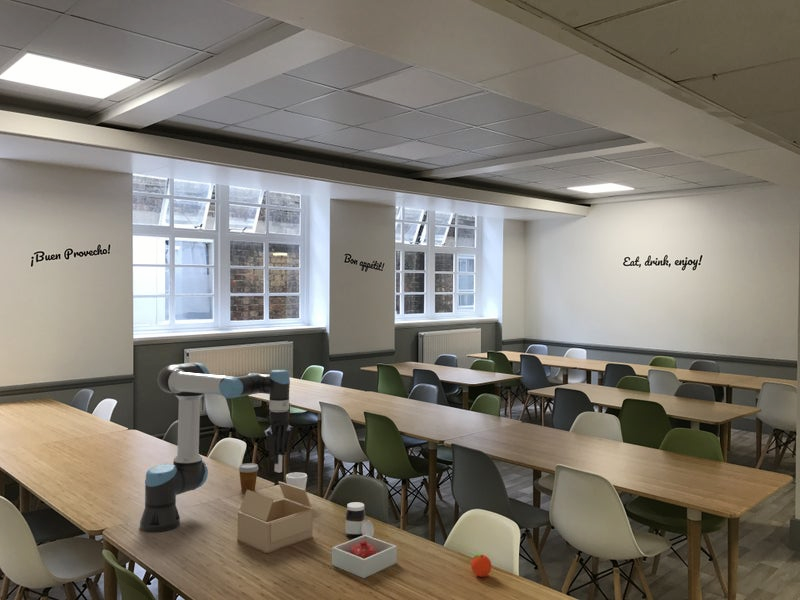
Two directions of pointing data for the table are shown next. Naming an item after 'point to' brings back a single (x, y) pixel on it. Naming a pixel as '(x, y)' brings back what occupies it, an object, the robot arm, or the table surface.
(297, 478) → the foam cup
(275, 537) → the carton
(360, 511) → the spread jar
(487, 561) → the clementine
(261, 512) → the flap near
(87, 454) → the table surface
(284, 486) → the flap far
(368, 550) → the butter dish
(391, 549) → the dish caddy
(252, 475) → the disposable coffee cup
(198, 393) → the robot arm
